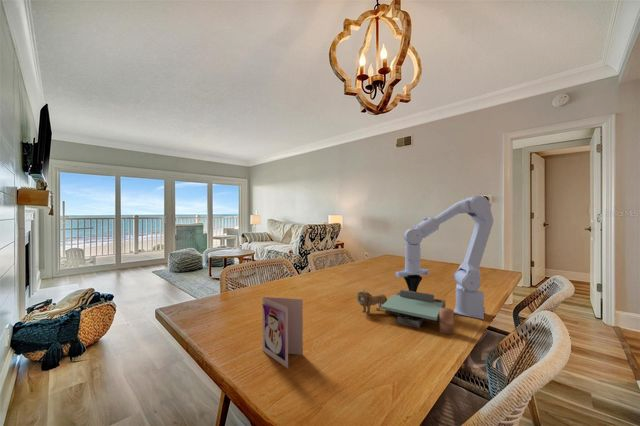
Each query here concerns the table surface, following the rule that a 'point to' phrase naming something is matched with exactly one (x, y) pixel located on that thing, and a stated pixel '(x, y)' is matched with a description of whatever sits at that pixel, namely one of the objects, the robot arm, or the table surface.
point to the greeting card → (282, 328)
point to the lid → (414, 304)
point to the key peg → (446, 321)
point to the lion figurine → (370, 300)
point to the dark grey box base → (415, 317)
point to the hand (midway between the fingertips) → (412, 294)
